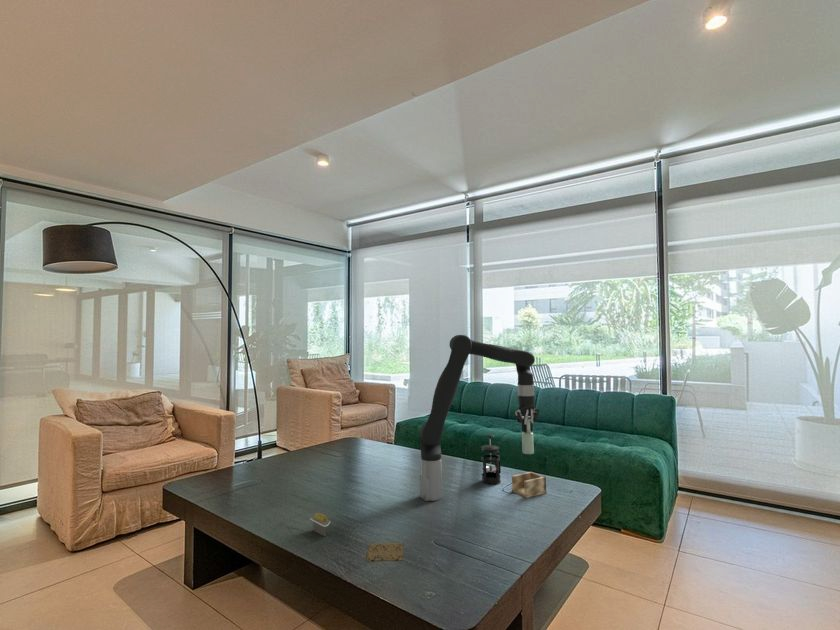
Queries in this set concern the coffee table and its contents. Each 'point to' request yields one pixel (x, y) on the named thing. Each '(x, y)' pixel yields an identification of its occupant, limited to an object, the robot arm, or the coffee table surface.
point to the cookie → (385, 552)
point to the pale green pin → (528, 440)
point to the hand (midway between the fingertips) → (527, 431)
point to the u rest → (529, 484)
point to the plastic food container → (320, 523)
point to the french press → (490, 472)
